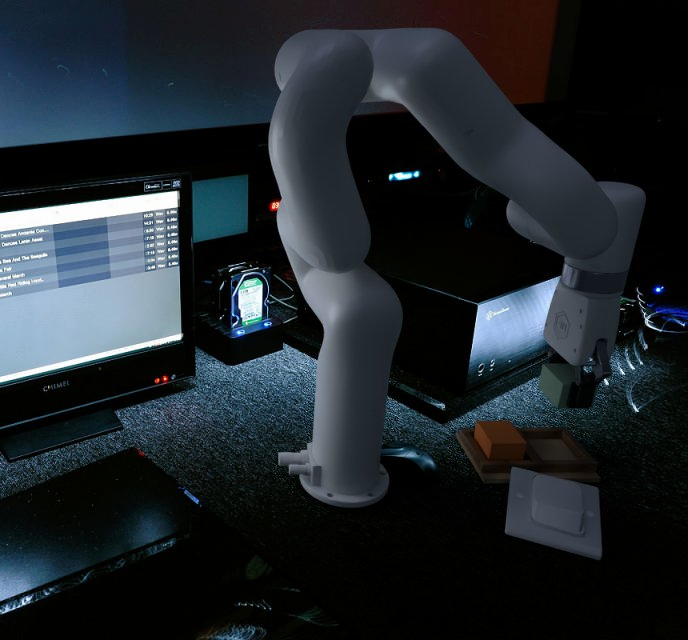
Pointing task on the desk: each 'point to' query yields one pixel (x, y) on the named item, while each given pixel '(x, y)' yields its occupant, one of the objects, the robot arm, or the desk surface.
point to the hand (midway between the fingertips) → (566, 393)
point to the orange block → (499, 440)
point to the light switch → (554, 512)
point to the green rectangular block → (558, 383)
